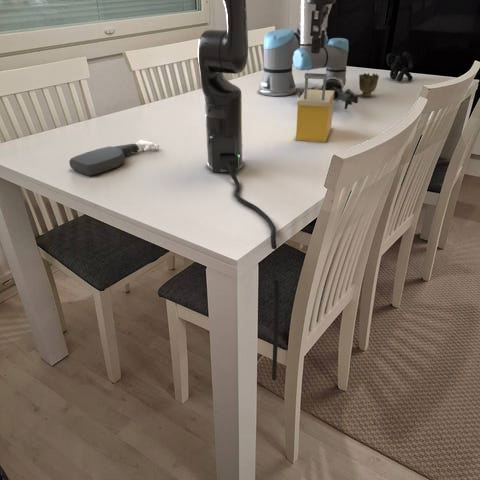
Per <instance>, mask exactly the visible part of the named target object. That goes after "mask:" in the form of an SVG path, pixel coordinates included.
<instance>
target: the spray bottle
mask: <svg viewBox="0 0 480 480" xmlns="http://www.w3.org/2000/svg"><path fill="white" fill-rule="evenodd" d="M159 148H160V145H159V144H158V143H155V142H151V141H148V140H144V139H139V140H138V141H137V142H135V143H129V144H128V143H126V144H122V145H113V146H105V147H100V148H97V149H94V150H90V151H87V152H83V153H81V154H78V155H74V156H73V157H70V159H69V161H68V162H69V167H70V168H71V169H72V170H74V171H75V172H78V173H81V174H83V175H85V176H89V177H90V176H91V177H92V176H95V175H99V174H102V173H105V172H107V171H110V170H113V169H116V168H118V167H120V166H122V165H123V164H124V163H125V158H126V156H127V155H131V154H133V153H138V151H140V150H143V151H144V152H146V151H147V150H149V149H159Z"/></svg>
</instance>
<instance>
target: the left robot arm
mask: <svg viewBox="0 0 480 480" xmlns="http://www.w3.org/2000/svg"><path fill="white" fill-rule="evenodd" d="M336 1H337V0H307V3H308V4H314V5H315V10H314V11H312V13H311V14H312V18H311V33H310V36H311V38H312V46H311V53H319V52H320V48H323V47H324V41H325V34H324V33H326V34H327V30H328V24H329V22H328V21H329V15H330V12H328V10H329V8H328V6H327V5H326V4H332V5H333V4H335V3H336ZM222 3H223V6H224V10H225V15H226V27H227V28H226V30H225V29H206V30H204V31H203V32H202V33H201V34H200V37H199V39H198V46H197V58H198V67H199V68H198V69H199V77H200V86H201V87H200V88H201V92H202V94H203V99H204V100H203V101H204V116H205V117H204V118H205V133H206V134H205V135H206V151H207V152H206V153H207V168H208V169H209V170H211V172H212V173H229V174H230V177H231V179H232V180H233V182H234V184H235V189H234V191H233V195H234V197H235V199H236V200H237V201H238V202H240V203H241V204H242V205H244V206H246V207H248V208H250V209H252V210H253V211H254V212H256V213H257V214H258V215H259V216H261V217H262V219H264V220H265V222H266V223H267V225H268V226H269V229H270V245H271V249H272V250H277V229H276V226H275V224H274V222H273V221H272V219H271V218H270V217H269V216H268V215H267V214H266V213H265V212H264V211H263V210H262V209H260V208H259V207H258V206H257V205H255V204H254V203H252V202H249V201H247V200H245V199H244V198H242V197H241V196H240V195H239V192H240V190H241V189H240V187H241V184H240V182H239V180H238V178H237V176H236V173H237V171H239V170H240V169H242V168H243V166H244V160H243V114H242V113H243V109H242V108H243V106H242V105H243V104H242V103H243V102H242V101H243V100H242V99H243V98H242V96H243V95H242V90H241V88H240V87H239V86H237V85H235V84H233V83H232V82H230V81H229V80H228V79H227V78H226V77H225V75H224V74H231V75H238V74H241V73H243V72H244V70H245V69H246V66H247V63H248V57H249V34H248V33H249V32H248V30H249V29H248V11H247V0H222ZM315 30H316V31H315ZM273 295H274V300H273V301H274V302H273V303H274V304H273V305H274V309H273V312H274V313H273V338H272V339H273V340H272V341H273V342H272V368H271V380H272V381H276V380H277V367H278V349H279V348H278V347H279V345H278V343H279V329H280V328H279V325H280V324H279V323H280V280H279V279H274V280H273Z"/></svg>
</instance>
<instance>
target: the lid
mask: <svg viewBox="0 0 480 480" xmlns="http://www.w3.org/2000/svg"><path fill="white" fill-rule="evenodd" d="M309 79H312V80H315V79H316V80H322V85H323V90H318V89H316V90H312V89H311V88H308V84H309ZM326 79H327V74H326V73H317V72H316V73H315V72H314V73H313V72H305V73H304V90H303V91H304V92H303V94H302V95H301V96H300V98H299V97H298V98H297V101H296V102H297V103H296V104H297V106H298V105H311V106H327V107H328V106H329V104H330V102H331V100H332V98H333V96H334V91H331V90H325V88H326Z"/></svg>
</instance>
